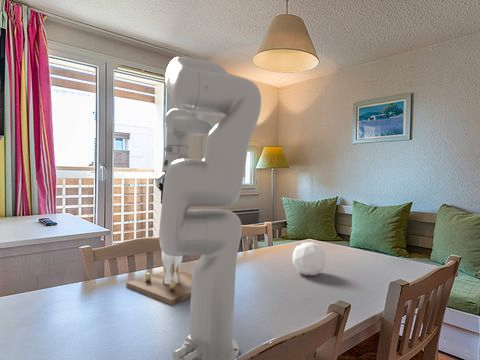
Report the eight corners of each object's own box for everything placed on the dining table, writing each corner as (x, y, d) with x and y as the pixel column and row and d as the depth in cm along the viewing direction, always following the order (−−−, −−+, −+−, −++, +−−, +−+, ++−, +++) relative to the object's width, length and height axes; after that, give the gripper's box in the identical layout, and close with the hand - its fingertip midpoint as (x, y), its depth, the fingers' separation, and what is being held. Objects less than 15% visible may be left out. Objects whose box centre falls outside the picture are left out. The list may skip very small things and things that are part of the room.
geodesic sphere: (284, 263, 120) (307, 236, 120) (281, 254, 134) (302, 230, 133) (313, 287, 120) (336, 260, 119) (307, 276, 134) (328, 251, 133)
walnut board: (170, 305, 92) (171, 289, 92) (126, 286, 105) (126, 273, 105) (218, 285, 110) (219, 272, 110) (175, 271, 123) (175, 260, 123)
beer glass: (160, 286, 102) (162, 241, 102) (160, 279, 109) (162, 236, 109) (182, 285, 104) (184, 240, 104) (180, 278, 111) (182, 236, 111)
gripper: (164, 149, 95) (163, 205, 95) (203, 154, 109) (202, 203, 109) (149, 150, 100) (147, 203, 99) (188, 154, 114) (186, 202, 113)
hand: (176, 203), depth 104 cm, fingers open, 9 cm apart
